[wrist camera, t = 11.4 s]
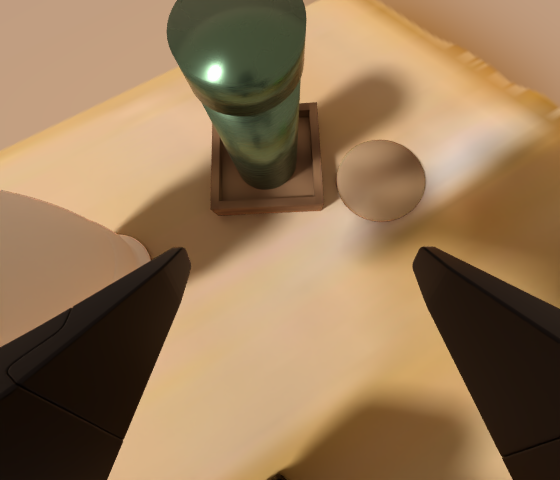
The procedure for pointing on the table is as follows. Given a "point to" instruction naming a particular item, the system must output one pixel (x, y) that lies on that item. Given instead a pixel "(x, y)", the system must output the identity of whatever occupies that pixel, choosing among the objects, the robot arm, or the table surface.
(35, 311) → the jar
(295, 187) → the walnut tray
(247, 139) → the tea canister
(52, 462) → the robot arm
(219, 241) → the table surface
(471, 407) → the table surface
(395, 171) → the cork coaster
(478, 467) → the table surface
